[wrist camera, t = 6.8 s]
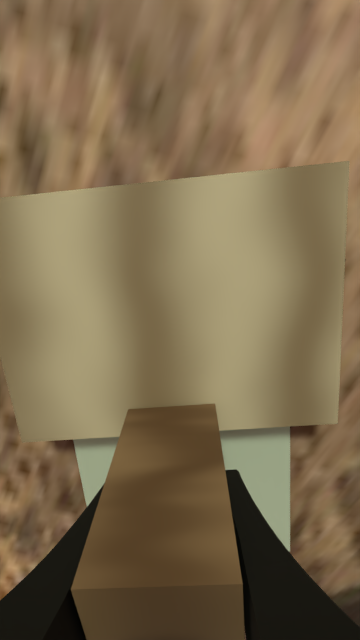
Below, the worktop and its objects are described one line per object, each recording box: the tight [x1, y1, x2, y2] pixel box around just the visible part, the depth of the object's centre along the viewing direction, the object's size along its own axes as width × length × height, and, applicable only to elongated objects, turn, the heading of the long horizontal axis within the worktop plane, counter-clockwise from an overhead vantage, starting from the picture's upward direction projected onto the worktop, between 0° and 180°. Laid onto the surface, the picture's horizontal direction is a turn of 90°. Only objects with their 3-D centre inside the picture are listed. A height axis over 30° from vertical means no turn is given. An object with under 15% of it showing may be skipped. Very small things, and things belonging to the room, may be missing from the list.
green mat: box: [73, 426, 290, 551], centre depth 17 cm, size 12×10×1 cm
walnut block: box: [71, 404, 245, 640], centre depth 11 cm, size 4×4×7 cm
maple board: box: [0, 161, 349, 442], centre depth 14 cm, size 15×11×2 cm
